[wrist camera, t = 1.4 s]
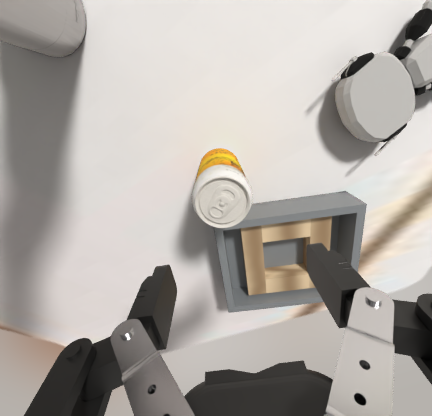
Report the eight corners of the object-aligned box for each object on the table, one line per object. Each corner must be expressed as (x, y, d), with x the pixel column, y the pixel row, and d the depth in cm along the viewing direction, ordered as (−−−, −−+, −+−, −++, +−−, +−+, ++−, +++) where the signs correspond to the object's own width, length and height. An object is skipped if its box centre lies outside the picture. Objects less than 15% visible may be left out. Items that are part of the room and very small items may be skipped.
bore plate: (246, 283, 43) (248, 295, 40) (238, 219, 37) (240, 227, 35) (319, 274, 42) (327, 286, 39) (323, 207, 37) (331, 215, 34)
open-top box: (227, 290, 45) (228, 312, 40) (213, 209, 38) (213, 224, 33) (337, 276, 44) (354, 298, 39) (345, 191, 37) (366, 203, 31)
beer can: (246, 161, 34) (267, 193, 21) (225, 192, 36) (231, 241, 23) (213, 139, 33) (211, 159, 19) (193, 173, 35) (179, 213, 21)
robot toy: (413, -1, 28) (312, 87, 30) (452, -24, 23) (331, 81, 26) (446, 84, 31) (354, 155, 34) (485, 77, 27) (376, 160, 30)
